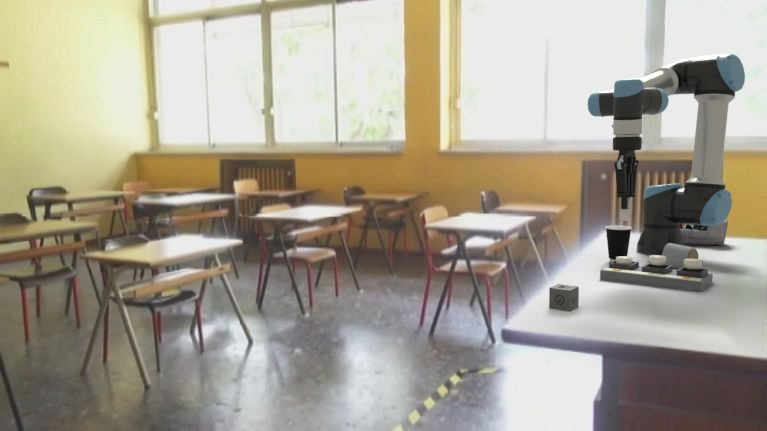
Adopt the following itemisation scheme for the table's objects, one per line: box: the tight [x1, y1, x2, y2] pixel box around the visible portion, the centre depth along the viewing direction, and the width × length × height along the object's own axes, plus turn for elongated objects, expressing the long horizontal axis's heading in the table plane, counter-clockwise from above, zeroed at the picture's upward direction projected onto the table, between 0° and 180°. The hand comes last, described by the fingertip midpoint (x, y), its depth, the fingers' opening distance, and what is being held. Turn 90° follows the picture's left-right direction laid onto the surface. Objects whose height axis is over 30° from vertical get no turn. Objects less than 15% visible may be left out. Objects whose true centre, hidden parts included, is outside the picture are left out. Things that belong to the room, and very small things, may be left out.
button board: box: [599, 260, 714, 292], centre depth 176 cm, size 12×26×4 cm, turn 51°
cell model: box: [680, 218, 729, 246], centre depth 234 cm, size 13×11×20 cm
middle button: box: [648, 255, 666, 265], centre depth 177 cm, size 4×4×2 cm
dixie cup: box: [605, 225, 633, 263], centre depth 204 cm, size 8×8×11 cm
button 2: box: [683, 258, 703, 269], centre depth 171 cm, size 4×4×2 cm
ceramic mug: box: [661, 243, 699, 270], centre depth 190 cm, size 11×8×8 cm
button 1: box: [616, 255, 634, 265], centre depth 182 cm, size 4×4×2 cm
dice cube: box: [548, 283, 580, 313], centre depth 150 cm, size 5×5×5 cm
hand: (625, 220), depth 181 cm, fingers closed
